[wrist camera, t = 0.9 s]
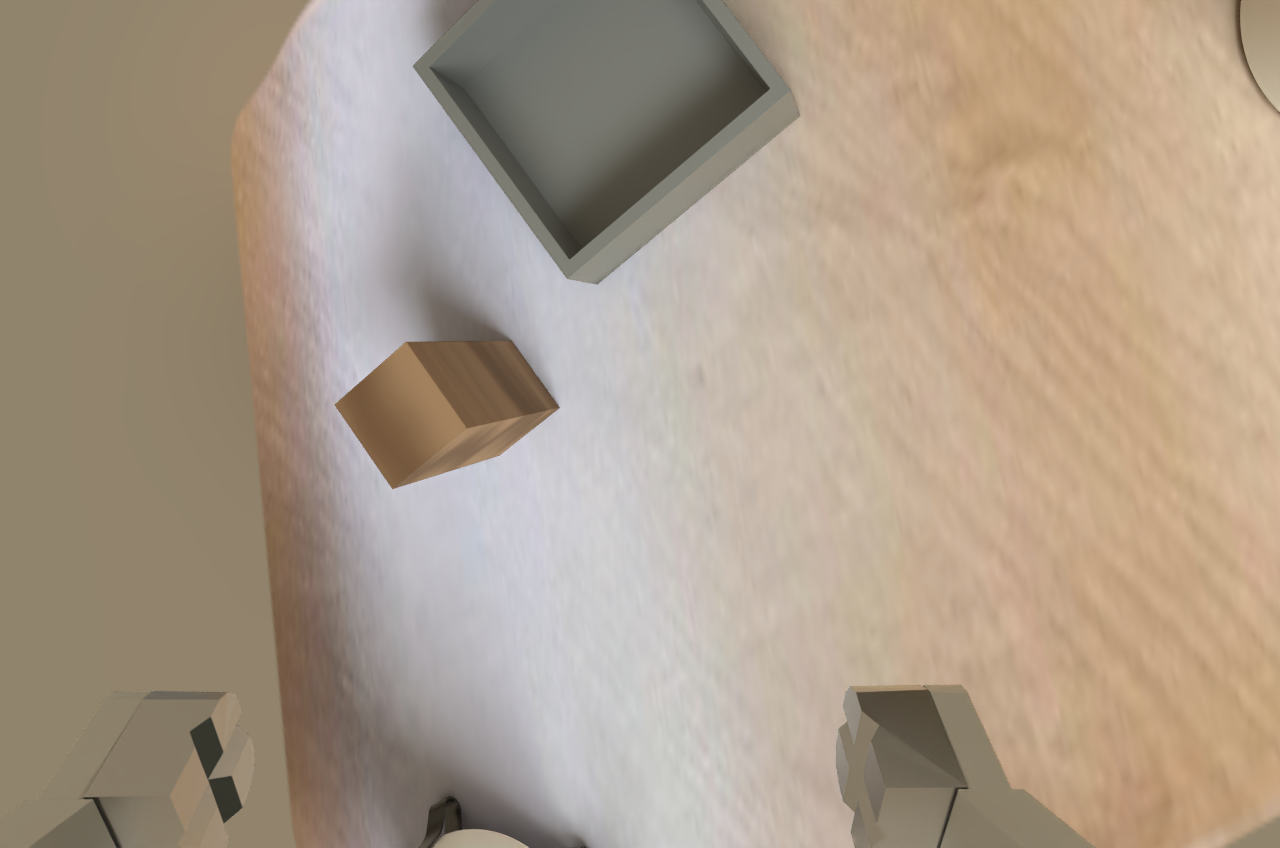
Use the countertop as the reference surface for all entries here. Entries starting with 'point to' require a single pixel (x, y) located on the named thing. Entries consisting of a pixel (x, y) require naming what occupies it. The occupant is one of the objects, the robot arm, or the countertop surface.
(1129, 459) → the countertop surface
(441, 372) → the wooden block
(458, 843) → the coffee press
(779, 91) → the box
